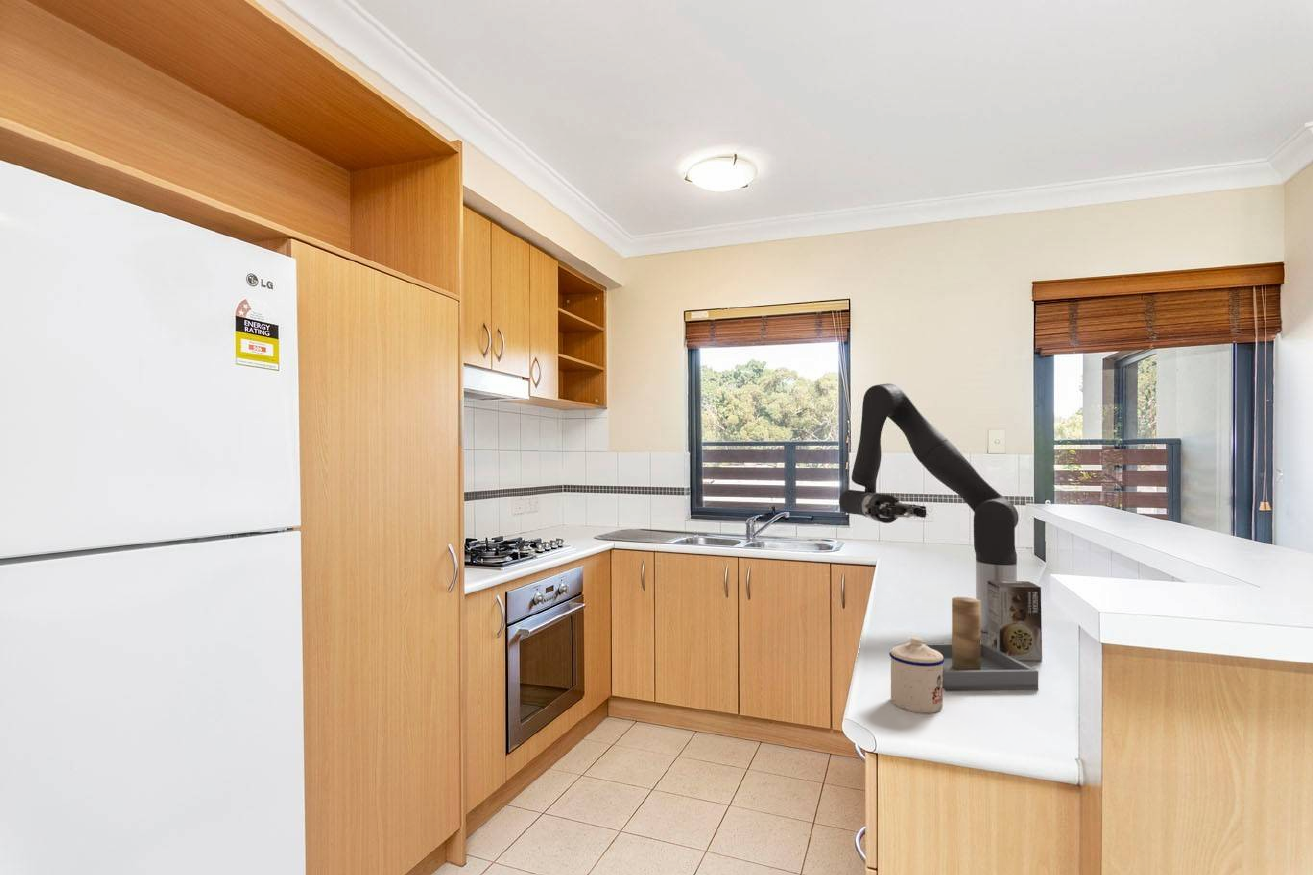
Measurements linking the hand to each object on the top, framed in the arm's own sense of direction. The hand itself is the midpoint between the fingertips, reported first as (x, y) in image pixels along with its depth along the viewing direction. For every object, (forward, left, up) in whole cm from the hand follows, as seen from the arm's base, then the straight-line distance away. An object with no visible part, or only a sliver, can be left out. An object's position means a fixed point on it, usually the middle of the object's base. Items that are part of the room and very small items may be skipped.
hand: (907, 513), depth 159 cm
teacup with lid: (+17, +41, -30) cm, 53 cm away
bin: (0, +27, -30) cm, 40 cm away
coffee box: (-17, +16, -30) cm, 38 cm away
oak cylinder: (0, +27, -29) cm, 40 cm away
